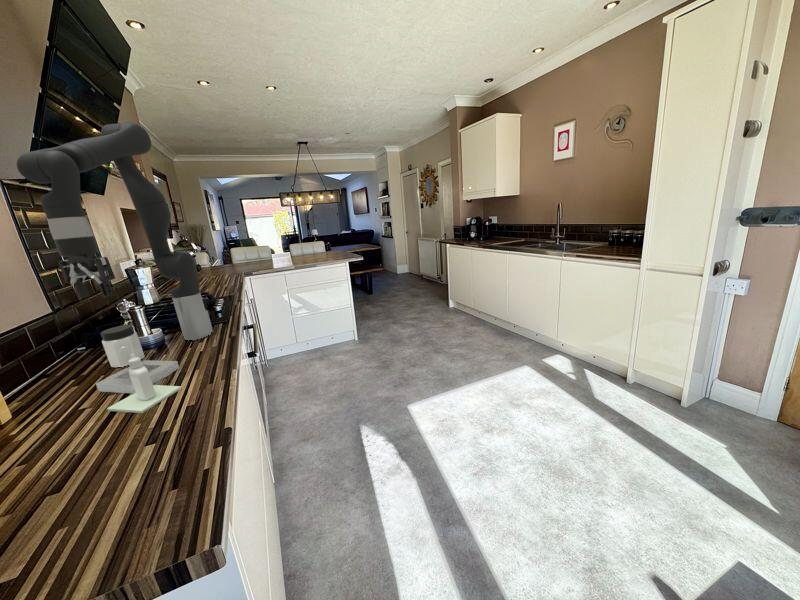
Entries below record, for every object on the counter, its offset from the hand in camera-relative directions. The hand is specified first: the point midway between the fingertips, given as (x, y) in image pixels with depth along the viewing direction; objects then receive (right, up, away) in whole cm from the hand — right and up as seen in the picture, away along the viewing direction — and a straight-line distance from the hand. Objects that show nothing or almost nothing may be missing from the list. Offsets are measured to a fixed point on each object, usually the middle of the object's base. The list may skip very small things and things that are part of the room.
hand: (96, 297), depth 87 cm
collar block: (+6, -24, +8) cm, 26 cm away
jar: (-10, -22, +22) cm, 32 cm away
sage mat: (+16, -26, -3) cm, 31 cm away
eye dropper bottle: (+16, -26, -3) cm, 31 cm away
